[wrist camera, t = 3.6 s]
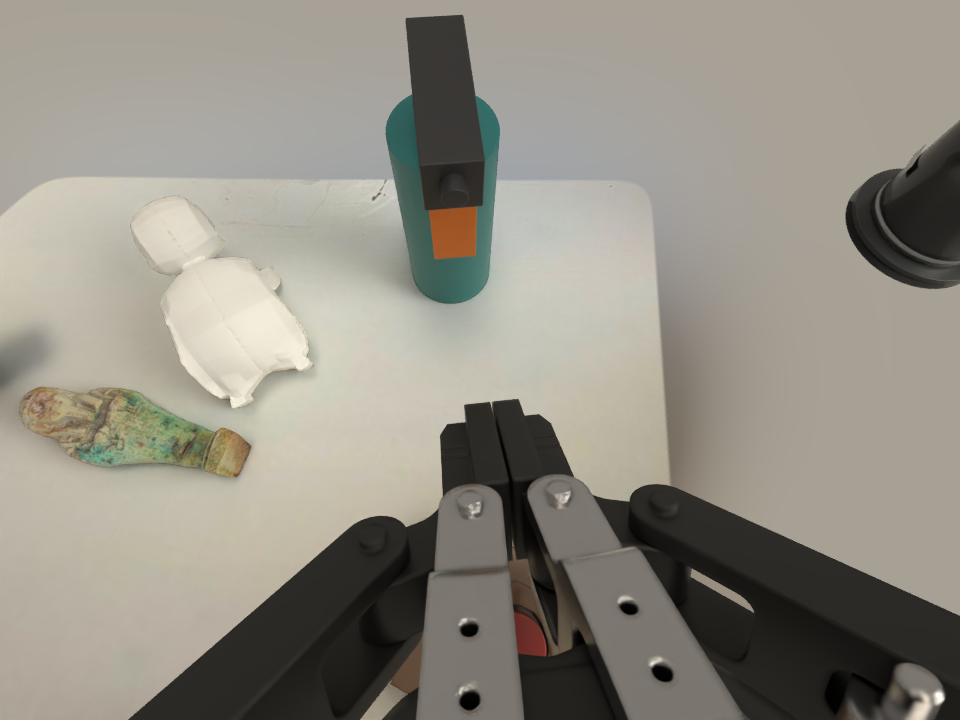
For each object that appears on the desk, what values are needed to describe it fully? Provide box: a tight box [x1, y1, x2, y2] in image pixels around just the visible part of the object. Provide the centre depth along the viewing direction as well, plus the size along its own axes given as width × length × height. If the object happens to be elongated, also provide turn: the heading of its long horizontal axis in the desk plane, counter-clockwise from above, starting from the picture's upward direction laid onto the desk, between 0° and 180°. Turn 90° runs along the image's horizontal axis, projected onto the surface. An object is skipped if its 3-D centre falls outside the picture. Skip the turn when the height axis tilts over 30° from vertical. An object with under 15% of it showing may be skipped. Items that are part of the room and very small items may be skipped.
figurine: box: [19, 387, 251, 477], centre depth 35 cm, size 6×15×4 cm, turn 69°
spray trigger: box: [429, 207, 477, 259], centre depth 27 cm, size 1×2×5 cm, turn 97°
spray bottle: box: [386, 15, 500, 303], centre depth 32 cm, size 11×6×20 cm, turn 7°
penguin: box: [130, 196, 314, 408], centre depth 36 cm, size 8×8×15 cm
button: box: [514, 610, 546, 656], centre depth 28 cm, size 4×4×2 cm
